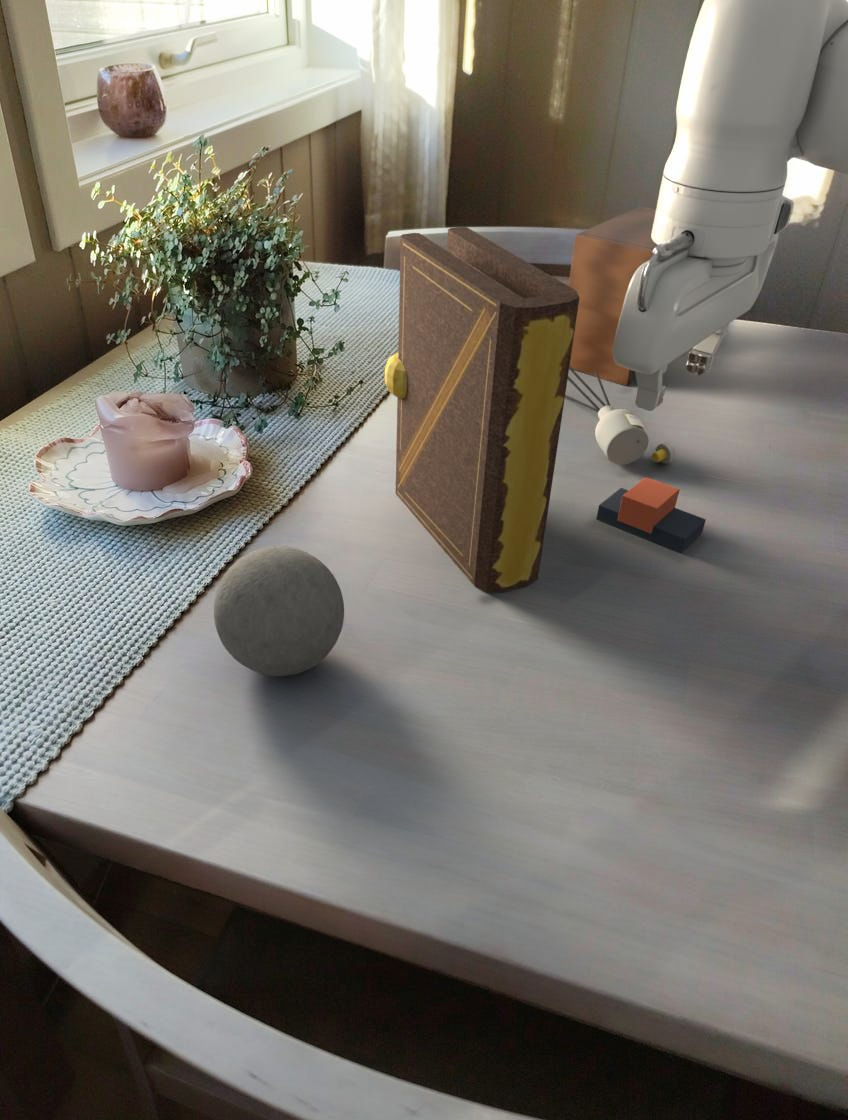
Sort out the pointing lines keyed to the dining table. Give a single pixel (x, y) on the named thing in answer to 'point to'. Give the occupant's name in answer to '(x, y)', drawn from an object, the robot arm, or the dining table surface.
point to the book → (480, 400)
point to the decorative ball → (278, 611)
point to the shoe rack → (606, 287)
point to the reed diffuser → (621, 431)
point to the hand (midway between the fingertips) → (673, 388)
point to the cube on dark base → (652, 514)
